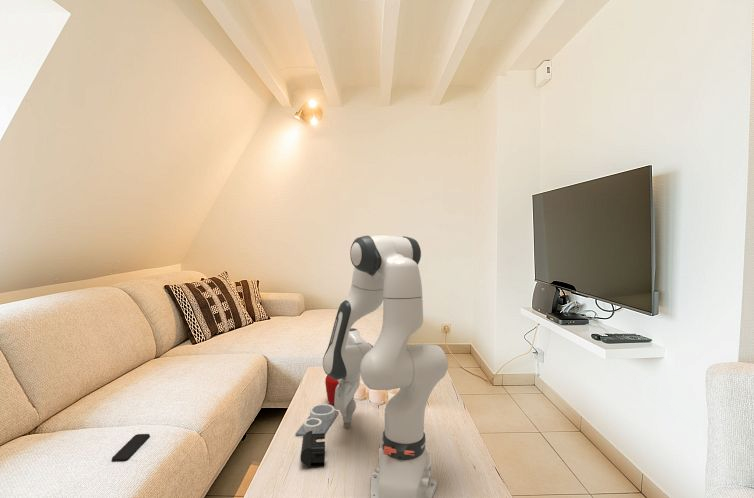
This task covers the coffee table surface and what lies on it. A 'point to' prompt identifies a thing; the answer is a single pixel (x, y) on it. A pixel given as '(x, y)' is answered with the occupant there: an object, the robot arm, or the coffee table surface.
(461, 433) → the coffee table surface
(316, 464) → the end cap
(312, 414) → the socket board
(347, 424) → the lightbulb
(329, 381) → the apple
